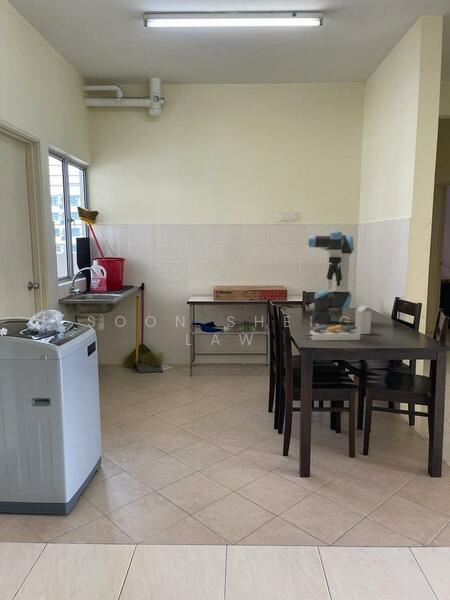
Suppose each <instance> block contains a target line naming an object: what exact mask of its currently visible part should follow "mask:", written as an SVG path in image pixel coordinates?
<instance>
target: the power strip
mask: <svg viewBox="0 0 450 600" xmlns="http://www.w3.org/2000/svg"><path fill="white" fill-rule="evenodd" d="M303 337H310V338H311V340H313V341H359V340H361V334H360V333H359V332H357V331H355V329H354V330H350V331H346V332H344V331H342V329H339V330H336V331H332V332H329V331H327V329H325V330H321V331H317V332H314V331H313V330H309V334H304V335H303Z"/></svg>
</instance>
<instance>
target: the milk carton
mask: <svg viewBox="0 0 450 600" xmlns="http://www.w3.org/2000/svg"><path fill="white" fill-rule="evenodd" d="M354 323H355V324H354V325H355V326H356V328H357V329H354V330H355V331H357V332H359V333H360V335H367V334H368V335H369V334H371V323H372V310H370V309H369V307H368V305H366V304H364V303H361V304H360V305H359V306H358V307H357V309H355V321H354Z"/></svg>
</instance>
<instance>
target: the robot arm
mask: <svg viewBox="0 0 450 600" xmlns="http://www.w3.org/2000/svg"><path fill="white" fill-rule="evenodd" d="M353 237H354V236H352V235H348V234H345V235H344V234H343V232H341V231H330V233H329V235H310V236H309V237H308V243H307V244H308V247H309V248H319V249H321V250H324V251H328V263H329V264H328V269H327V275H326V279H327V290H321V291H316V292H315V293H314V300H313V301H314V302H313V303H314V305H313V312H312V313H313V314H312V316H311V318H310V319H311V323H314V324H322V325H326V324H331V323H333V318H332V315H331V309H332V310H333V309H334V310H349V309H350V307H351V302H352V296H353V295H352V293H351V291H350V289H349V273H350V256H351V255H352V253H353V252H355V243H354V238H353ZM334 276H335V285H334V290H333V277H334ZM331 290H333V292H331Z"/></svg>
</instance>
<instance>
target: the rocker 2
mask: <svg viewBox="0 0 450 600" xmlns="http://www.w3.org/2000/svg"><path fill="white" fill-rule="evenodd" d="M341 327H342V326H341ZM355 329H357V328H356V326H355V324H350V325H347V326H343V327H342V329H341V330H342V331H344V332H346V331H350V330H355Z"/></svg>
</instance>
